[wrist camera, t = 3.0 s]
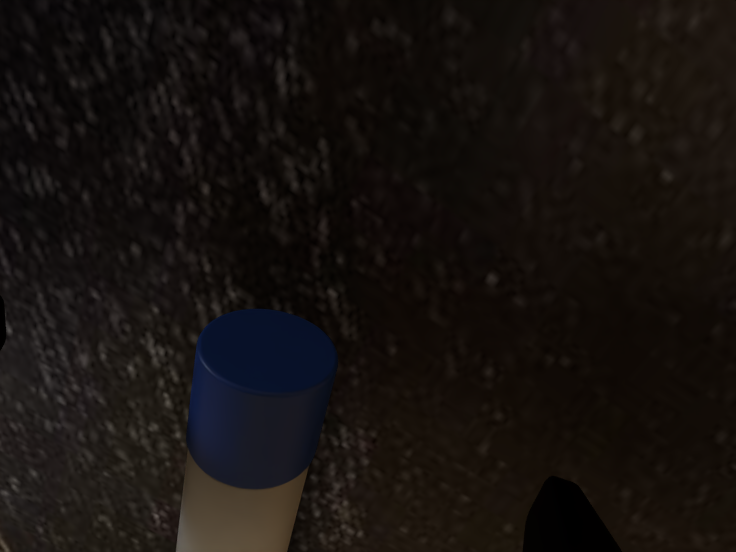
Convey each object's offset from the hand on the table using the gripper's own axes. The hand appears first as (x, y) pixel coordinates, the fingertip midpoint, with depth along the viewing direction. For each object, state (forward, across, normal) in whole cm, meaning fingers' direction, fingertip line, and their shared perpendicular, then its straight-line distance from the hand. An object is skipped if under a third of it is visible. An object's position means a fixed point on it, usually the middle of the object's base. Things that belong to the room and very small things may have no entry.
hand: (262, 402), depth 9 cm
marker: (+1, 0, +4) cm, 4 cm away
